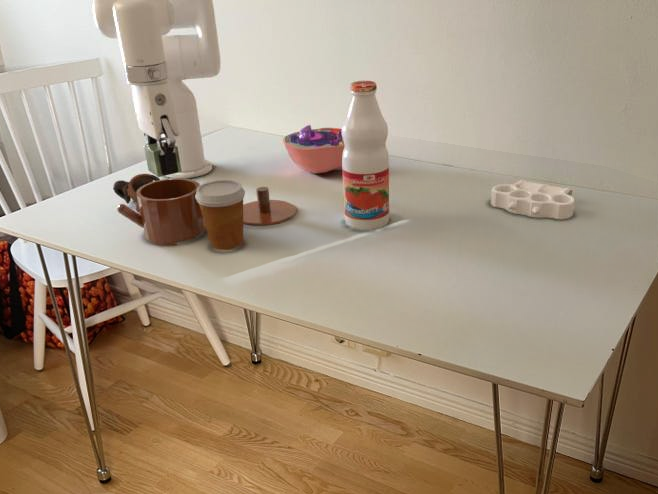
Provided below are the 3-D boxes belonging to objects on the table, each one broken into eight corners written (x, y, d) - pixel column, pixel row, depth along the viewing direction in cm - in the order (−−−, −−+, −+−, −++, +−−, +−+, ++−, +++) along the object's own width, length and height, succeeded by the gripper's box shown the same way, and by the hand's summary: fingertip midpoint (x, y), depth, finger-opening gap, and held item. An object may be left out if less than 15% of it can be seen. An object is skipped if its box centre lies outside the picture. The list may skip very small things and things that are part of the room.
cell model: (365, 181, 169) (364, 133, 163) (282, 183, 170) (277, 136, 163) (365, 158, 183) (363, 114, 177) (288, 160, 184) (284, 116, 177)
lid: (223, 214, 155) (220, 187, 152) (276, 199, 161) (274, 173, 158) (252, 233, 146) (249, 205, 142) (307, 217, 152) (305, 190, 148)
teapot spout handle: (122, 232, 143) (115, 203, 140) (122, 228, 145) (115, 200, 142) (223, 219, 147) (219, 190, 144) (222, 215, 149) (218, 187, 146)
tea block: (148, 170, 141) (143, 145, 138) (171, 165, 143) (167, 140, 140) (158, 177, 137) (153, 151, 134) (181, 171, 139) (177, 146, 137)
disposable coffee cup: (212, 259, 136) (202, 200, 129) (197, 242, 143) (187, 185, 136) (258, 248, 139) (251, 190, 133) (241, 232, 147) (234, 175, 140)
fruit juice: (387, 212, 152) (386, 76, 137) (391, 230, 145) (390, 88, 129) (344, 214, 152) (338, 78, 137) (345, 232, 145) (339, 90, 129)
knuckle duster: (585, 202, 153) (562, 226, 143) (508, 188, 162) (480, 210, 152) (588, 187, 151) (564, 210, 142) (509, 174, 160) (482, 195, 150)
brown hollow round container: (136, 231, 149) (127, 187, 144) (191, 216, 155) (184, 173, 149) (159, 251, 140) (150, 205, 135) (217, 234, 146) (210, 190, 141)
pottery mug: (170, 197, 166) (170, 173, 158) (162, 229, 161) (161, 205, 154) (118, 187, 164) (115, 162, 157) (108, 218, 159) (105, 194, 152)
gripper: (184, 77, 126) (200, 177, 136) (149, 63, 137) (165, 156, 147) (144, 84, 122) (163, 185, 132) (111, 69, 134) (131, 163, 144)
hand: (164, 169), depth 140 cm, fingers closed on tea block, 5 cm apart
